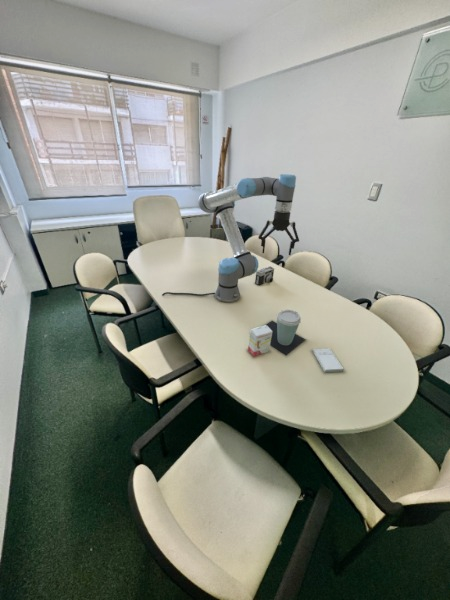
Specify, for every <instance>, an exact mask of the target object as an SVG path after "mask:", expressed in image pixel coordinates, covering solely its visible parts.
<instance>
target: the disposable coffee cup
mask: <svg viewBox="0 0 450 600" xmlns="http://www.w3.org/2000/svg"><path fill="white" fill-rule="evenodd" d="M301 319H302V318H301V315H300V313H299V312H298V311H295V310H294V309H283V310H281V311H279V312H278V313H277V315H276V323H277V340H278V342H279V343H280V344H282V345H289V344H291V343H292V341H293V338H294V336H295V334H297V331H298V328H299V325H300V324H301V321H302V320H301Z"/></svg>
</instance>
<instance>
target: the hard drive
mask: <svg viewBox="0 0 450 600" xmlns="http://www.w3.org/2000/svg"><path fill="white" fill-rule="evenodd" d="M312 353H313V354H314V357H315V358H316V361H318V364H319V365H320V366H321V369H322V370H323V372H324V373H338V372H344V371H345V368H344V367H343V365H342V364H341V363H340V361H339V360H338V358H337V356H336V355H335V354H334V352H333V351H332V349H331V348H330V347H328V348H313V349H312Z"/></svg>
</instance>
